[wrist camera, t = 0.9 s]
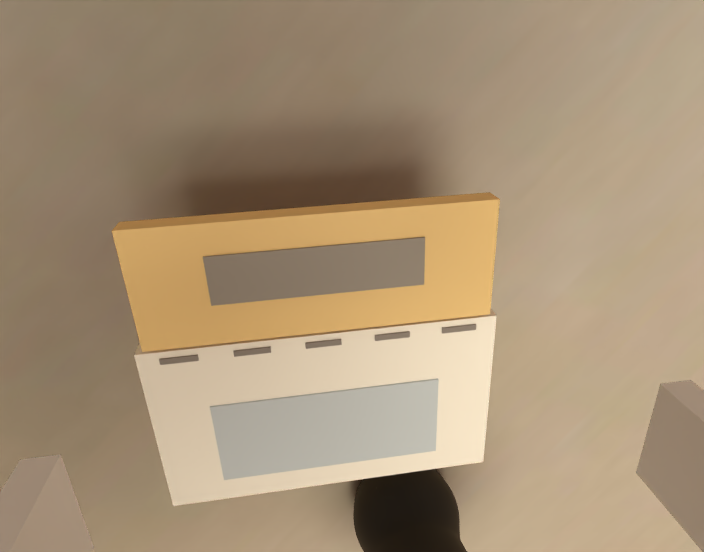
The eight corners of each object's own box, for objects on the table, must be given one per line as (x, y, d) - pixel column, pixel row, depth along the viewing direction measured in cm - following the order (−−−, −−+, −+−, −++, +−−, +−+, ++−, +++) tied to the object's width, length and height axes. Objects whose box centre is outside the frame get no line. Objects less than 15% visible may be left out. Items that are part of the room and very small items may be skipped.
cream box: (197, 394, 37) (173, 507, 28) (171, 270, 33) (133, 356, 24) (434, 366, 39) (483, 463, 30) (438, 246, 35) (497, 316, 26)
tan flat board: (147, 338, 25) (141, 353, 24) (119, 222, 22) (110, 231, 21) (481, 303, 27) (490, 315, 26) (489, 192, 24) (500, 199, 23)
